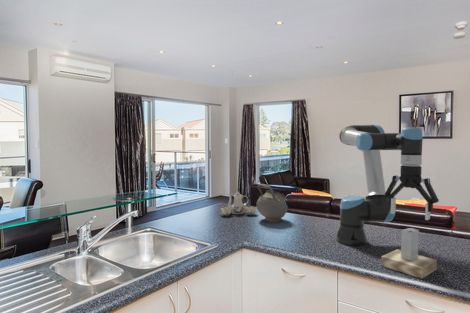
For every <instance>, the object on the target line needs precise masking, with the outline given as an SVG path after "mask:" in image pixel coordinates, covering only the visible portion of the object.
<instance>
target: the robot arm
mask: <svg viewBox="0 0 470 313" xmlns="http://www.w3.org/2000/svg"><path fill="white" fill-rule="evenodd" d="M385 132H386V131H385V130H384V128H383V127H382V126H381V125H377V124H376V125H375V124H366V125H364V124H363V125H362V124H360V125H359V124H357V125H356V124H354V125H352V124H351V125H348V126H345V127H344V128H342V129H341V130H340V132H339V134H338V135H339V136H338V137H339V140H340V142H341V143H342V144H343V145H346V146H353V147H356V149H357V150H360V151H361V152H362V154H363V162H364V163H363V164H364V172H365V180H366V186H367V187H366V188H367V194H366V195H365V196H360V195H358V196H356V195H351V196H346V197H343V198H342V199H341V200H340V206H339V209H340V210H339V211H340V212H339V216H340V217H339V221H340V222H339V227H338V230H337V233H336V241H337V242H338V243H339V244H343V245H347V246H355V247H356V246H365V245H366V244H367V243H368V237H367V234H366V231H365V227H364V224H365V223H390V222H391V221H393V219H394V218H395V216H396V207H397V205H396V204H397V198H396V196H397V195H398V193H400V192H401V191H402V190H403V189H404V188H405V189H407V188H408V189H409V188H411V189H415V190H417V191H418V192H419V194H420V195H421V196H422V197H423V199H424V200H425V201H426V203H425V209H424V210H425V212H424V213H425V214H424V220H425V221H429V220H430V219H431V213H433V211H434V204H436V203H439V202H440V199H439V198H438V196H437V194H436V192H435V190H434V188H433V185H432V184H431V179H430V178H429V177H427V178H422V168H423V167H422V166H421V165H422V163H423V161H422V160H423V159H422V158H423V140H424V139H423V138H424V136H423V128H421V127H403V128H402V129H401V132H386V133H385ZM381 151H400V164H401V166H400V175H392V177H391V182H390V184H389V185H388V187H387V189H386V186H385V180H384V179H385V178H384V171H383V170H384V169H383V164H382V157H381ZM399 181H400V182H401V183H399V185H398V186H397V187H396V188H395V186H396V185H397V182H399ZM421 183H423V184H424V186H425V188H426V189H424V187H423V186H422V184H421ZM427 192H428V193H427ZM364 197H365V198H364Z"/></svg>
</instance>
